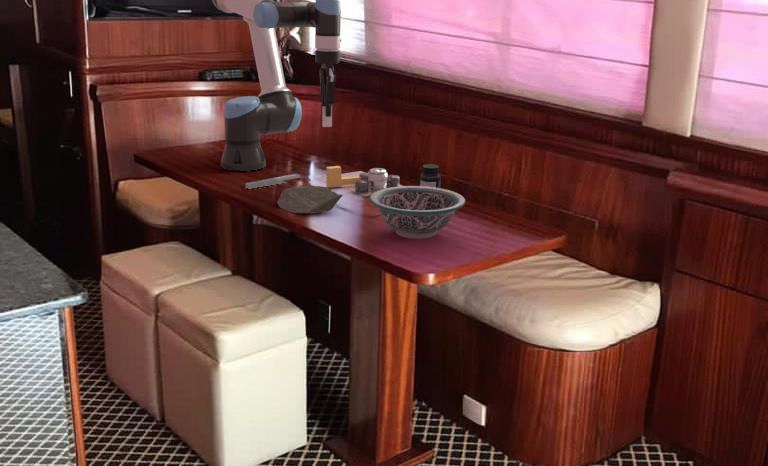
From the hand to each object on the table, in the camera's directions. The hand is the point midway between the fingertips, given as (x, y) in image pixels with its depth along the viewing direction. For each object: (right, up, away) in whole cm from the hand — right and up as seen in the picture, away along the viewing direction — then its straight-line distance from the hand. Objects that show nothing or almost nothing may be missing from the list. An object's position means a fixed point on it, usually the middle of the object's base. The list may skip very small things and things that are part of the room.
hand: (327, 126), depth 265 cm
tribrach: (+11, -18, +4) cm, 22 cm away
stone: (-5, -26, -21) cm, 34 cm away
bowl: (+26, -33, -41) cm, 59 cm away
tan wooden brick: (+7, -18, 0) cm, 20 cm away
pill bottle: (+31, -24, -12) cm, 42 cm away
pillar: (-17, -19, +3) cm, 25 cm away
